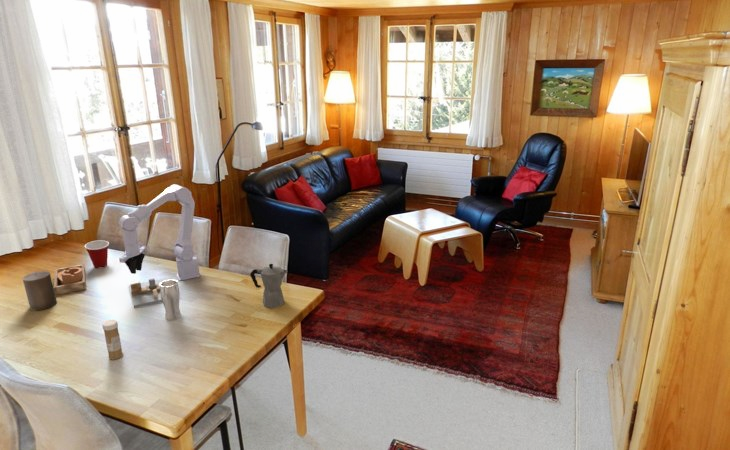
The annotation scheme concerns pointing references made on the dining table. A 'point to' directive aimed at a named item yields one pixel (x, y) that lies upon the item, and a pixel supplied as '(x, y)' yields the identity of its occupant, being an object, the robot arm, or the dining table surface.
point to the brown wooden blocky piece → (142, 289)
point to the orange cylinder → (70, 276)
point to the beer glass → (170, 299)
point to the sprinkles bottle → (112, 339)
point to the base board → (148, 294)
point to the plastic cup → (98, 252)
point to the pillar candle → (39, 290)
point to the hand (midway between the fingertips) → (136, 271)
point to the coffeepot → (271, 285)
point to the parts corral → (71, 286)
